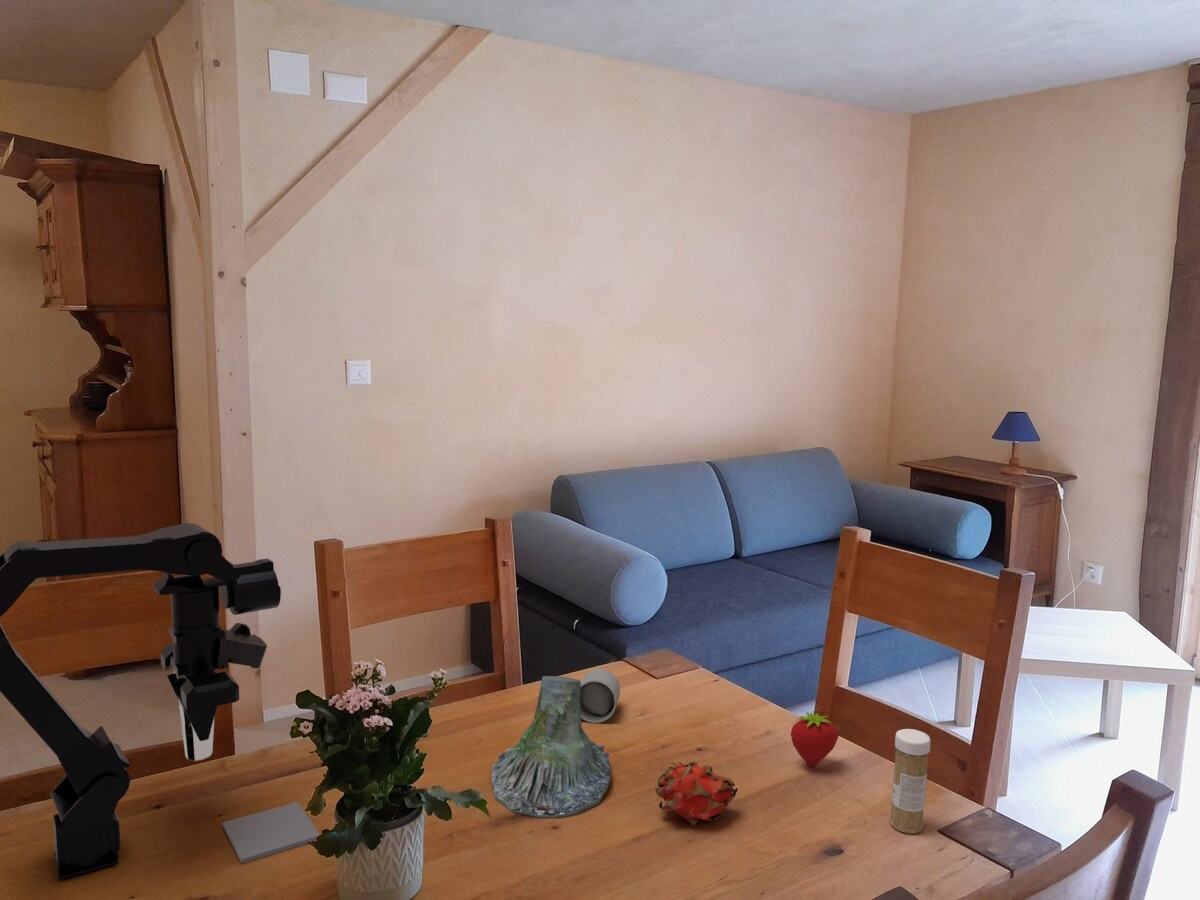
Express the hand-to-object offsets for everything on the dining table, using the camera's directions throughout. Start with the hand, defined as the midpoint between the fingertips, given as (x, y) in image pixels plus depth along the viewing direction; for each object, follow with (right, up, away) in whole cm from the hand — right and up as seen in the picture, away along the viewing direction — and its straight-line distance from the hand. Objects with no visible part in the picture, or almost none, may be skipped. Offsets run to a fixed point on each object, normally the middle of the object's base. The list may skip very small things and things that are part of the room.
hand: (200, 733), depth 121 cm
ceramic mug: (+51, -9, +40) cm, 65 cm away
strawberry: (+87, -12, +22) cm, 90 cm away
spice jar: (+96, -15, +6) cm, 97 cm away
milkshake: (0, -3, 0) cm, 3 cm away
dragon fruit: (+67, -14, +7) cm, 68 cm away
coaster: (+9, -13, 0) cm, 16 cm away
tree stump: (+46, -12, +16) cm, 50 cm away
